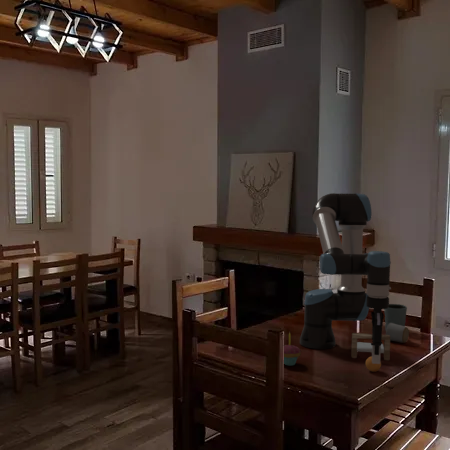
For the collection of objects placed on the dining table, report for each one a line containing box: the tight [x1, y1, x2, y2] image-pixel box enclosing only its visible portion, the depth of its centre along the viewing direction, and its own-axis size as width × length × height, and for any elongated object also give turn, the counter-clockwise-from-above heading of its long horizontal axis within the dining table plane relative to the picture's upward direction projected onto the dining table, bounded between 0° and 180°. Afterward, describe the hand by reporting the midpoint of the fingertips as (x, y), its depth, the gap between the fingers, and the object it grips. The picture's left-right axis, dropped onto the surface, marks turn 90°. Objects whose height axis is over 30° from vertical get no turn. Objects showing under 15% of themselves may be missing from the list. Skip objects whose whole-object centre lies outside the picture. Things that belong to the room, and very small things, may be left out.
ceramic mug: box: [385, 323, 410, 344], centre depth 240 cm, size 11×8×8 cm
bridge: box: [350, 332, 391, 361], centre depth 215 cm, size 3×14×9 cm, turn 79°
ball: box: [365, 355, 382, 373], centre depth 199 cm, size 6×6×6 cm
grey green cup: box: [383, 303, 408, 330], centre depth 255 cm, size 10×10×12 cm
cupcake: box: [283, 331, 302, 367], centre depth 207 cm, size 9×8×12 cm
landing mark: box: [357, 341, 384, 354], centre depth 229 cm, size 13×13×1 cm
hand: (375, 362), depth 189 cm, fingers closed
